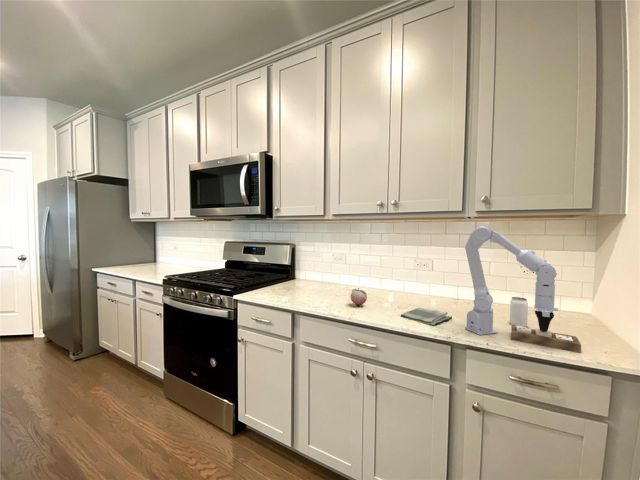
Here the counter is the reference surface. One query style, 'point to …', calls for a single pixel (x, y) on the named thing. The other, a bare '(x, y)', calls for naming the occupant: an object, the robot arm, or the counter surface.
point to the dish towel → (427, 316)
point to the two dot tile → (563, 337)
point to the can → (518, 311)
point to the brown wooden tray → (547, 340)
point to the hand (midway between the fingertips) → (543, 330)
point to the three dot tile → (523, 329)
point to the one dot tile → (543, 333)
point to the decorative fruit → (358, 297)
